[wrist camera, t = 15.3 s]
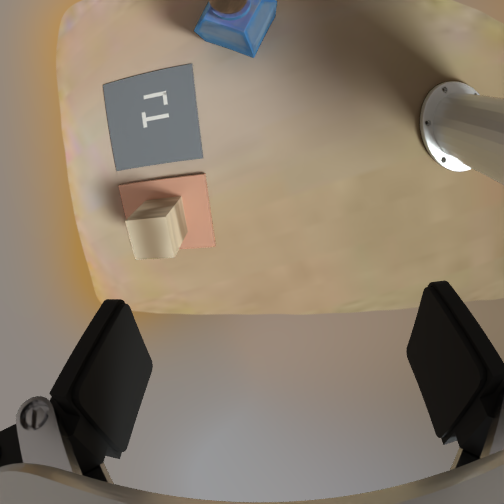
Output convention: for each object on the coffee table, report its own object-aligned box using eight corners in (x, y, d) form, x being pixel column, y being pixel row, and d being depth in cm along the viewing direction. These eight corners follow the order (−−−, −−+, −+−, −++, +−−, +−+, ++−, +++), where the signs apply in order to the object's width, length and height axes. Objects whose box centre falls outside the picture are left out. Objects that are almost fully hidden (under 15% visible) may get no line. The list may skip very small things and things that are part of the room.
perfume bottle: (226, -1, 27) (209, -39, 16) (275, 15, 28) (279, -19, 17) (205, 40, 29) (178, 17, 19) (253, 57, 30) (248, 39, 20)
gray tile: (192, 63, 31) (191, 63, 31) (203, 157, 36) (202, 158, 36) (103, 85, 32) (103, 85, 31) (117, 170, 37) (116, 171, 37)
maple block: (181, 196, 38) (165, 216, 32) (187, 231, 41) (174, 257, 34) (146, 200, 39) (125, 220, 32) (153, 234, 41) (135, 259, 35)
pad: (205, 173, 37) (204, 174, 37) (215, 244, 42) (215, 246, 42) (120, 184, 38) (118, 185, 38) (136, 250, 43) (134, 252, 42)
